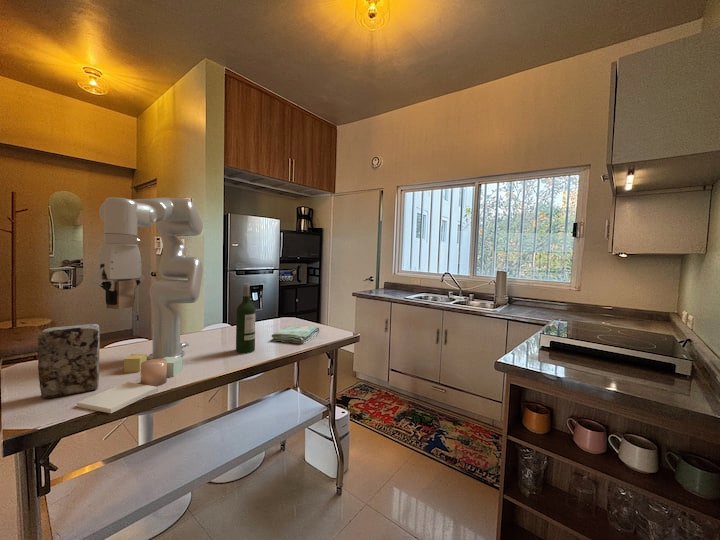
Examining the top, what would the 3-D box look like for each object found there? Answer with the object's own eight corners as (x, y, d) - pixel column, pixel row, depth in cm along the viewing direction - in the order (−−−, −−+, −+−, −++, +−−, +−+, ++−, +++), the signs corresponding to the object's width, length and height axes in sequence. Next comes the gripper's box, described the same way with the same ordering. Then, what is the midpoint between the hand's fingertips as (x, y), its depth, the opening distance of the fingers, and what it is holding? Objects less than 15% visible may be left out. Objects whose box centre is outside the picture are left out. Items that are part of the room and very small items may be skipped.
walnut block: (122, 305, 90) (122, 279, 90) (134, 306, 89) (134, 280, 89) (106, 308, 86) (106, 280, 86) (118, 309, 85) (118, 281, 85)
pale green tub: (166, 370, 109) (166, 356, 109) (182, 370, 110) (182, 357, 109) (155, 376, 103) (155, 362, 103) (173, 377, 104) (173, 362, 103)
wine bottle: (250, 354, 129) (251, 285, 128) (232, 353, 130) (233, 284, 128) (257, 348, 137) (258, 283, 136) (240, 347, 137) (241, 282, 136)
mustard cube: (131, 367, 111) (131, 354, 110) (146, 367, 112) (146, 353, 112) (123, 372, 106) (123, 358, 106) (139, 372, 107) (139, 358, 107)
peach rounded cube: (154, 377, 102) (154, 357, 102) (171, 380, 101) (171, 359, 101) (135, 386, 96) (135, 364, 95) (152, 389, 94) (152, 367, 94)
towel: (269, 342, 149) (270, 332, 148) (289, 332, 169) (290, 323, 169) (303, 346, 144) (304, 335, 144) (320, 335, 165) (320, 326, 165)
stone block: (100, 382, 97) (99, 321, 96) (100, 390, 92) (99, 326, 91) (40, 394, 88) (39, 327, 88) (37, 403, 83) (36, 332, 82)
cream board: (127, 385, 96) (127, 381, 96) (157, 390, 93) (157, 386, 93) (77, 406, 82) (77, 402, 82) (111, 413, 79) (110, 408, 79)
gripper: (138, 242, 96) (138, 299, 97) (78, 238, 80) (77, 306, 80) (157, 243, 95) (156, 300, 95) (99, 238, 78) (99, 308, 79)
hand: (120, 302), depth 88 cm, fingers closed on walnut block, 4 cm apart
